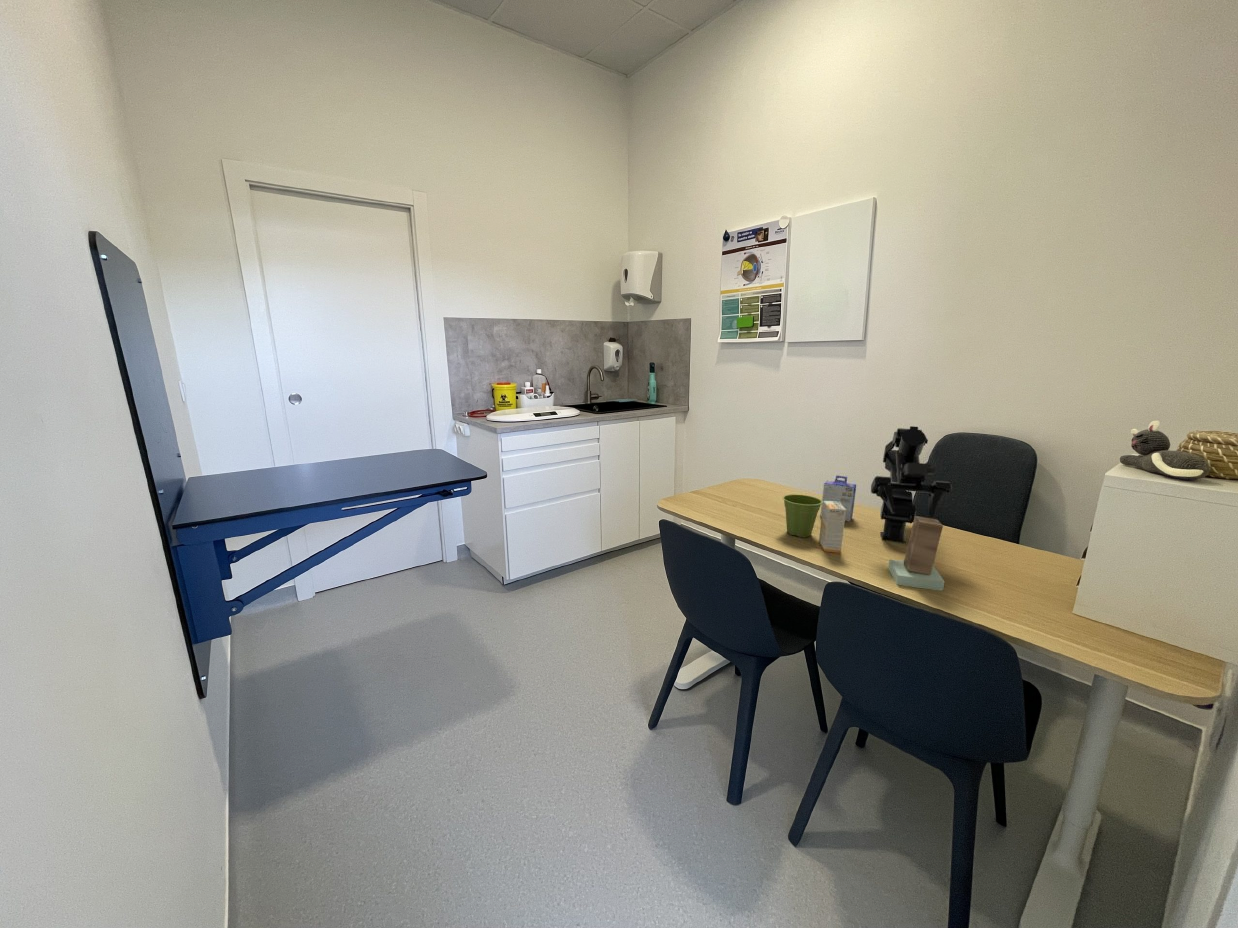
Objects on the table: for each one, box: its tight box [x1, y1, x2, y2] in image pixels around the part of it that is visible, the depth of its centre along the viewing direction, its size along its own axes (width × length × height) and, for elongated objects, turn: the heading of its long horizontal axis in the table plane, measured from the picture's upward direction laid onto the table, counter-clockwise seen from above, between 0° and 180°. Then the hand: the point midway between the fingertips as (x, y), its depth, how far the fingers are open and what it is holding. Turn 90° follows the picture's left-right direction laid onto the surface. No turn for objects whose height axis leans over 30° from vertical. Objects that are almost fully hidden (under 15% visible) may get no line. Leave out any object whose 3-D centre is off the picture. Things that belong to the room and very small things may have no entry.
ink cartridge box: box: [819, 474, 857, 522], centre depth 168 cm, size 10×6×14 cm, turn 58°
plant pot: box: [782, 493, 823, 538], centre depth 153 cm, size 12×12×11 cm
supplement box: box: [818, 501, 846, 554], centre depth 142 cm, size 8×5×13 cm, turn 168°
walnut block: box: [903, 515, 944, 575], centre depth 122 cm, size 5×5×13 cm
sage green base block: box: [887, 559, 945, 592], centre depth 124 cm, size 10×10×3 cm
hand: (912, 515), depth 131 cm, fingers open, 9 cm apart
